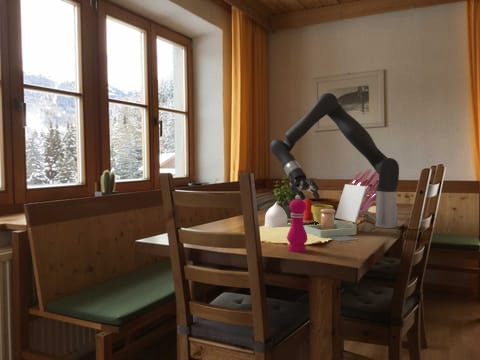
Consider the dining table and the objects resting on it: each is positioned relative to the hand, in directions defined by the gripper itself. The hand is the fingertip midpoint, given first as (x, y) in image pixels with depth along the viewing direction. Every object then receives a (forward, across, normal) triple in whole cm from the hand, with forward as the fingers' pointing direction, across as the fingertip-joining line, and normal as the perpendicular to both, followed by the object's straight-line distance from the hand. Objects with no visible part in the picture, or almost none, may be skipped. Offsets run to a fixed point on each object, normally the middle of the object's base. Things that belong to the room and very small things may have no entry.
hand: (311, 198), depth 192 cm
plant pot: (+5, +14, +16) cm, 22 cm away
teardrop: (-3, -5, +24) cm, 25 cm away
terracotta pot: (+17, 0, +2) cm, 17 cm away
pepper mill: (+29, -31, -8) cm, 43 cm away
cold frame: (+19, +2, +2) cm, 19 cm away
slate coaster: (+26, -4, -6) cm, 27 cm away
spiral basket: (-2, +60, +23) cm, 64 cm away
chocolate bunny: (+22, +19, -1) cm, 29 cm away
